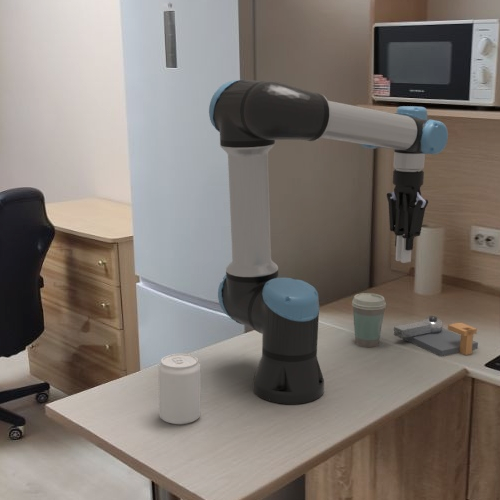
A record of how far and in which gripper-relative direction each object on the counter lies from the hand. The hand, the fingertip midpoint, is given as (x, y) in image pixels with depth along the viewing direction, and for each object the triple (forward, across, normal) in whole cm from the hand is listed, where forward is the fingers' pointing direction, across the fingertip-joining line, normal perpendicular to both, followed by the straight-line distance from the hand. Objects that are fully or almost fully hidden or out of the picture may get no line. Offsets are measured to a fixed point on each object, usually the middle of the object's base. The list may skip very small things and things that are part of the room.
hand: (403, 261), depth 196 cm
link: (+18, -6, -1) cm, 19 cm away
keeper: (+19, -17, -5) cm, 26 cm away
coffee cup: (+20, -2, +12) cm, 23 cm away
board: (+19, -10, -4) cm, 22 cm away
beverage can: (+20, -18, +71) cm, 76 cm away
